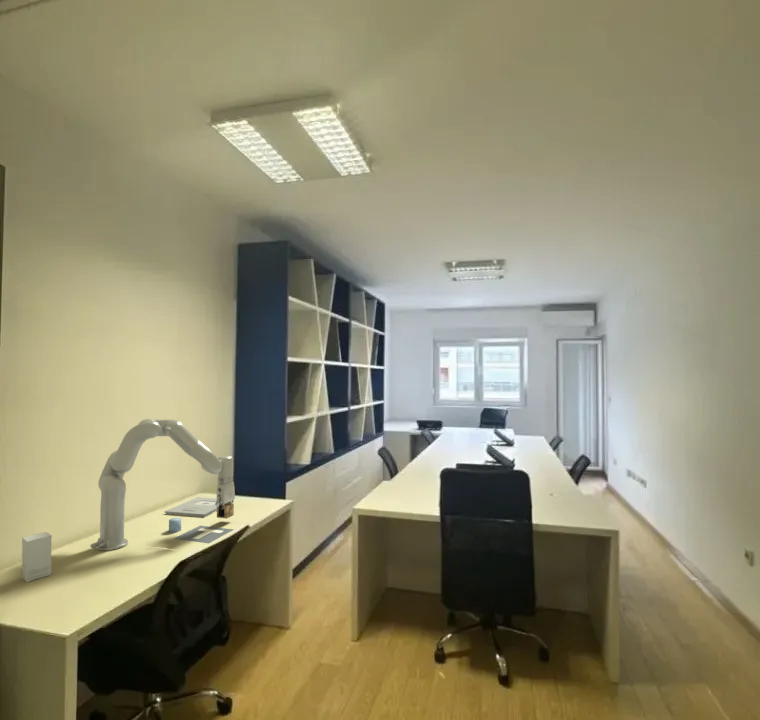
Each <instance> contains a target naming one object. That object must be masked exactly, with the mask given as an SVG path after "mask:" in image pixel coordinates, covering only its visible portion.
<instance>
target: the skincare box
mask: <svg viewBox="0 0 760 720" xmlns="http://www.w3.org/2000/svg"><path fill="white" fill-rule="evenodd" d="M21 541H22V543H21V546H22V547H21V549H22V550H21V558H22V559H21V566H22V567H21V577H22V579H23V580H24V581H25V582H26V583H30V582H31V581H35V580H38V579H42V578H45V577H49V576H51V575H52V534H50V533H49V532H47V531H44V532H40V533H36V534H32V535H28V536H24V537H23V536H22V538H21Z"/></svg>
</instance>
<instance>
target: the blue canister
mask: <svg viewBox="0 0 760 720" xmlns="http://www.w3.org/2000/svg"><path fill="white" fill-rule="evenodd" d="M181 530H182V518H180V517H173V518H170V519H168V533H178V532H181Z"/></svg>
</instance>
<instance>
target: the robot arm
mask: <svg viewBox="0 0 760 720" xmlns="http://www.w3.org/2000/svg"><path fill="white" fill-rule="evenodd" d="M157 437H169V438H170V439H171V440H172V441H173V442H174V443H176V445H177V446H178V447H179V448H180V449H182V451H184V453H186V454H187V455H188V456H190V458H193V459H194V460H195V461H197V462H198V463H199V464H200V466H201V467H200V468H202V469H203V470H204V471H205V472H206V473H208V474H211V475H216V474H217V487H216V488H217V489H216V499H217V501H216V503H215V505H216V506H217V508H218V517H224V509H223V508H224V504H226V503H232V504H234V503H233V500H234V501H235V498H236V493H235V491H236V489H235V488H236V487H235V482H234V458H233V456H232V455H220V456H217V455H215V454H214V452H212V451H211V450H210V449H209V448H208V447H207V446H206V445H205V444H204V443H203V442H201V440H200V439H198V437H197V436H196V435H194V434H193V433H192V432H191V430H190V429H188V428H187V426H186V425H185V424H184V423H182V421H180V420H177V419H162V418H161V419H159V418H158V419H157V418H156V419H155V418H145V419H142V420H141V421H139V423H138V424H137V425H135V426H133V427H132V428H131V429H129V430H128V431H127V432H126V434H125V435H124V436H123V438H122V441H121V443H120V444H119V447H118V448H117V450H115V451H113V452H112V453H110V455H109V456H108V458H107V461H106V462H105V464H104V467H103V469H102V471H101V474H100V476H99V479H98V482H97V483H98V484H97V485H98V488H99V490H100V495H101V496H100V508H99V509H100V510H99V511H100V514H99V515H100V516H99V517H100V519H99V520H100V523H99V528H100V529H99V537H98V538H97V541H96V542H93V543H91V544H90V548H91V549H96V550H97V551H113V549H114V550H117V548H118V549H121V548H124V547H125V546H127V545H128V544H127V543H129V541H128V539H126V538H125V500H126V493H127V492H126V491H127V487H126V481H125V480H124V476H125V474H126V473H128V472H130V470H132V468H133V467H134V465H135V462H136V459H137V456H138V454H139V451H140V450H141V448H142V445H143V444H144V443H145V442H146V441H148V440H150V439H154V438H157ZM221 502H222V503H221ZM221 504H222V506H221ZM126 544H127V545H126ZM123 546H124V547H123ZM120 547H121V548H120Z"/></svg>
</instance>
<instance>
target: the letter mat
mask: <svg viewBox="0 0 760 720" xmlns="http://www.w3.org/2000/svg"><path fill="white" fill-rule="evenodd" d="M234 530H235V529H232V528H224V527H215V526H208V525H198V526H196V527H194V528H193V529H190V530H188V531H185V532H184V533H181V534H179V535H178V536H175V537H174V538H172V540H180V541H186V542H194V543H203V544H211V543H212V542H214V541H216V540H217V539H218V540H219V539H220V538H221V537H224V536H225V535H227V534H229V533H230V532H232V531H234Z"/></svg>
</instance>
